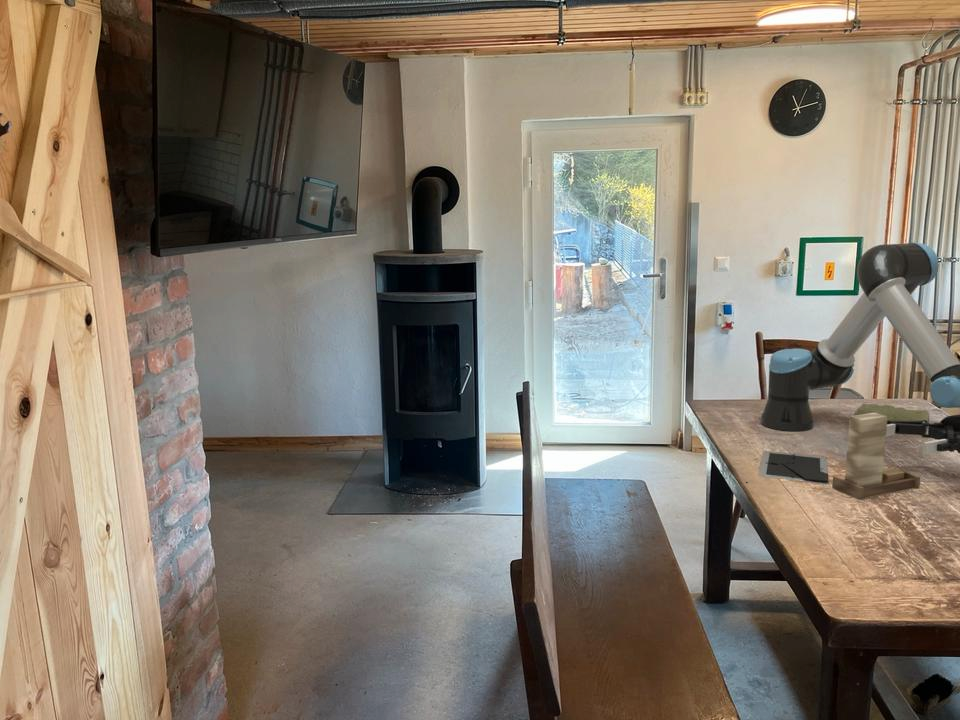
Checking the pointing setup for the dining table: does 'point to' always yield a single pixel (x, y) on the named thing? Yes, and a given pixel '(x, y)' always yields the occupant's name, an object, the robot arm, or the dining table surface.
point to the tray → (877, 486)
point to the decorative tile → (893, 412)
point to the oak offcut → (892, 475)
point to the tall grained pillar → (866, 449)
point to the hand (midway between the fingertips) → (897, 440)
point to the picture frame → (794, 467)
